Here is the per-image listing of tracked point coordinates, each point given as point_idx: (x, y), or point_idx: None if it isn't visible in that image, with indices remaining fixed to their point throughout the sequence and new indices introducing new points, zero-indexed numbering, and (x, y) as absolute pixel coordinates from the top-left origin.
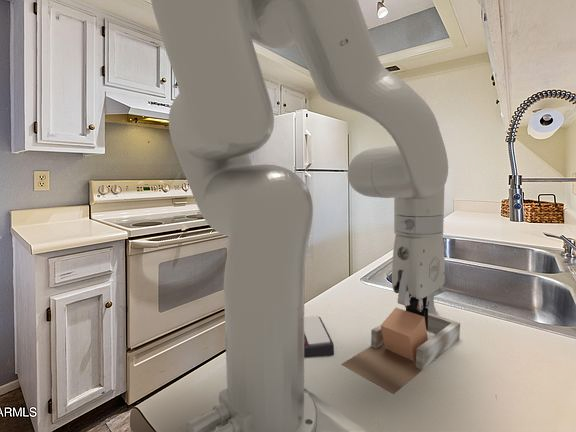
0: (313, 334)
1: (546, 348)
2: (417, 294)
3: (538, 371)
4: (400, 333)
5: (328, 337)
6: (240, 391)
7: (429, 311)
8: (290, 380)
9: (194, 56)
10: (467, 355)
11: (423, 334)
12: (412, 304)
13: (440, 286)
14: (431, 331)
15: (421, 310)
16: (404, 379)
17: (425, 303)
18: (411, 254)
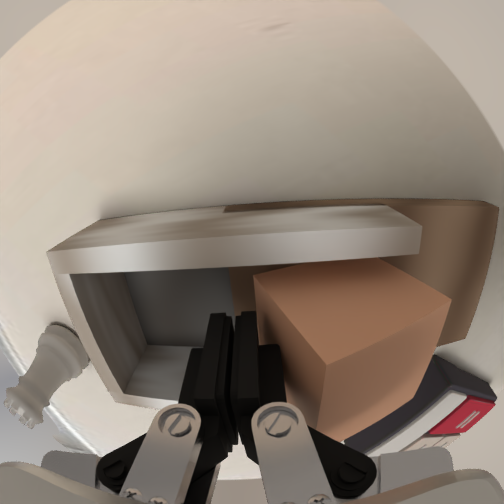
0: (435, 419)
1: None
2: (502, 489)
3: (65, 43)
4: (439, 334)
5: (437, 405)
6: None
7: (57, 354)
8: None
9: None
10: (120, 176)
11: (308, 295)
12: (365, 456)
13: (54, 494)
14: (122, 309)
15: (269, 408)
16: (455, 217)
17: (201, 434)
18: None
